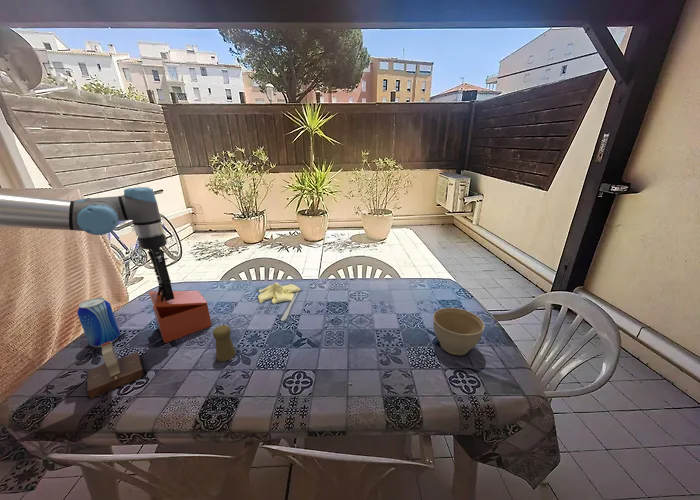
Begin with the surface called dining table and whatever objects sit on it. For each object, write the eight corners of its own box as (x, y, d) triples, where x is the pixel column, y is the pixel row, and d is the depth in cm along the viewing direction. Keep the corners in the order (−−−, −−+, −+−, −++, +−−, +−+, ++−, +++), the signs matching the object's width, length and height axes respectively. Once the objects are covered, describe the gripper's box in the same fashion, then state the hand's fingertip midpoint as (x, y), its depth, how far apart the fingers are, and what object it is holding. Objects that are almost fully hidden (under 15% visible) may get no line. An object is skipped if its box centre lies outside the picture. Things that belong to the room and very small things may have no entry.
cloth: (303, 286, 137) (302, 275, 135) (291, 305, 120) (290, 292, 118) (261, 284, 140) (260, 273, 138) (244, 302, 123) (242, 290, 121)
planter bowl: (480, 340, 98) (485, 314, 95) (477, 369, 85) (482, 340, 81) (435, 327, 105) (438, 303, 102) (425, 352, 92) (428, 325, 88)
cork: (239, 352, 92) (235, 325, 88) (225, 364, 87) (220, 335, 83) (227, 347, 94) (222, 320, 90) (212, 358, 89) (206, 330, 85)
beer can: (84, 345, 95) (69, 305, 89) (112, 331, 102) (99, 294, 97) (99, 352, 92) (83, 311, 86) (126, 337, 99) (113, 298, 94)
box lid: (154, 307, 91) (157, 287, 90) (148, 293, 99) (151, 275, 98) (207, 304, 102) (210, 286, 101) (197, 292, 111) (200, 276, 110)
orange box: (164, 344, 96) (158, 320, 92) (158, 328, 104) (152, 306, 101) (211, 326, 106) (207, 304, 102) (202, 313, 114) (198, 292, 111)
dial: (120, 372, 79) (112, 349, 76) (110, 376, 78) (101, 353, 75) (118, 362, 83) (111, 340, 80) (109, 366, 81) (101, 343, 79)
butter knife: (277, 320, 109) (285, 320, 108) (294, 289, 134) (300, 289, 134) (278, 321, 109) (285, 321, 109) (295, 290, 134) (300, 290, 134)
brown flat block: (90, 399, 74) (87, 390, 73) (90, 378, 81) (87, 370, 80) (144, 376, 82) (141, 368, 81) (140, 359, 89) (137, 351, 88)
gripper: (170, 239, 86) (186, 302, 93) (159, 227, 99) (173, 283, 107) (141, 244, 81) (160, 310, 89) (133, 231, 95) (150, 289, 103)
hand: (167, 295), depth 98 cm, fingers closed on box lid, 7 cm apart
